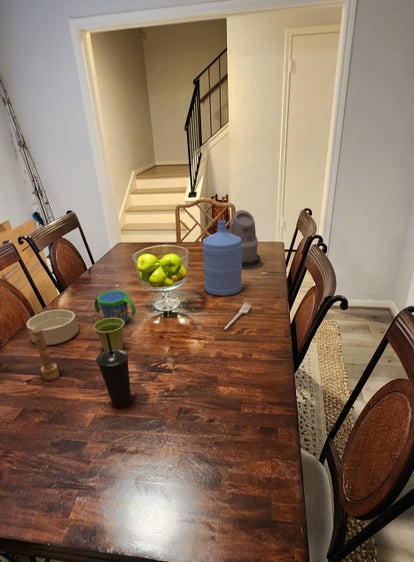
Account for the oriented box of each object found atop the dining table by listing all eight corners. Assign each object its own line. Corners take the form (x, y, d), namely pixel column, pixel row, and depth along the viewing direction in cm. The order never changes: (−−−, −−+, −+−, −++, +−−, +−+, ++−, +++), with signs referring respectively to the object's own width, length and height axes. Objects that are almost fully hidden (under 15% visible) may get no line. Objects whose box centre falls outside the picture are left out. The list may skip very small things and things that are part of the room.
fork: (220, 329, 127) (220, 324, 126) (243, 306, 141) (243, 302, 140) (229, 331, 125) (229, 326, 124) (251, 308, 140) (251, 303, 139)
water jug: (237, 297, 149) (237, 226, 134) (200, 295, 153) (196, 225, 138) (244, 283, 161) (245, 216, 147) (210, 281, 165) (207, 216, 151)
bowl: (26, 348, 121) (20, 332, 118) (38, 326, 135) (33, 311, 132) (74, 343, 123) (70, 327, 120) (81, 322, 136) (78, 307, 133)
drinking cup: (110, 392, 99) (95, 326, 89) (139, 392, 99) (127, 325, 88) (102, 411, 93) (85, 342, 82) (133, 411, 92) (119, 341, 82)
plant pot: (134, 343, 121) (130, 319, 117) (117, 358, 114) (112, 333, 109) (110, 339, 124) (105, 315, 120) (92, 353, 117) (87, 329, 112)
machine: (266, 266, 180) (268, 213, 167) (236, 271, 176) (235, 217, 163) (241, 250, 204) (242, 203, 191) (214, 254, 200) (212, 206, 187)
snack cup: (91, 324, 134) (85, 299, 129) (109, 312, 142) (104, 288, 137) (126, 332, 128) (121, 305, 123) (143, 319, 136) (139, 293, 131)
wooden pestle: (41, 381, 105) (25, 335, 97) (45, 372, 109) (30, 327, 101) (57, 379, 106) (43, 333, 98) (60, 370, 109) (46, 325, 101)
